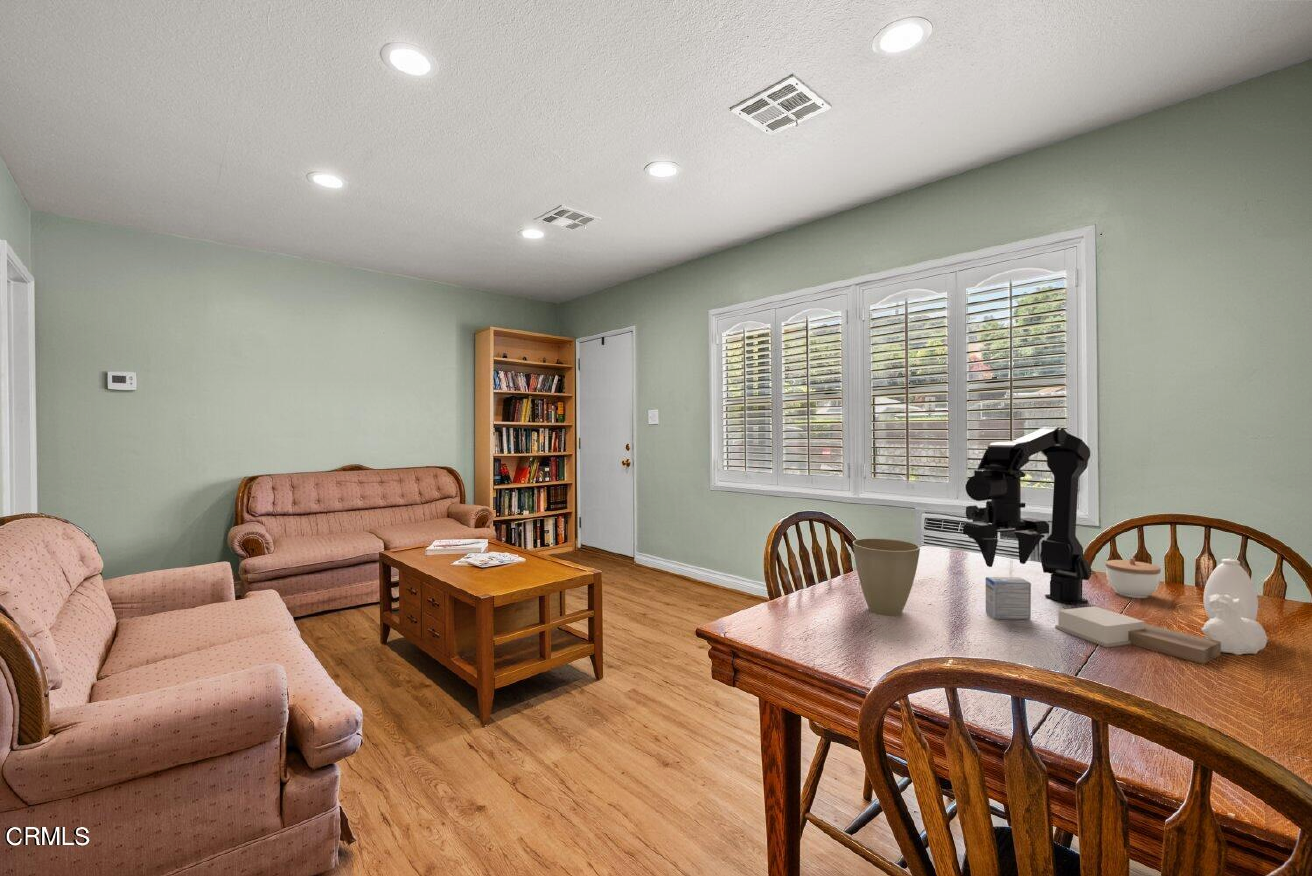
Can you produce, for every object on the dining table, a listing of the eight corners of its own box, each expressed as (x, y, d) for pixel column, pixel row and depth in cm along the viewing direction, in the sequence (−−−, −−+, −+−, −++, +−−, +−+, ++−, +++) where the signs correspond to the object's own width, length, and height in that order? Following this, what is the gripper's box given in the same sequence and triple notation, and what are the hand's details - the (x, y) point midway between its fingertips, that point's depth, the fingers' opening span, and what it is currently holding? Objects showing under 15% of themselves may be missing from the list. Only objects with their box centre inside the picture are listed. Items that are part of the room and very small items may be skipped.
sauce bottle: (1241, 641, 112) (1241, 552, 111) (1194, 628, 119) (1195, 544, 119) (1267, 637, 114) (1268, 549, 114) (1219, 624, 121) (1220, 542, 121)
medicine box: (1020, 613, 129) (1020, 577, 129) (1031, 620, 125) (1031, 582, 125) (984, 613, 130) (984, 576, 130) (994, 619, 126) (994, 581, 126)
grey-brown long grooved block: (1141, 634, 116) (1141, 622, 116) (1220, 655, 105) (1220, 642, 105) (1123, 642, 112) (1123, 629, 112) (1203, 664, 102) (1203, 650, 102)
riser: (1094, 623, 123) (1094, 605, 123) (1148, 641, 112) (1148, 622, 112) (1055, 628, 120) (1055, 609, 120) (1106, 647, 110) (1106, 627, 110)
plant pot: (911, 626, 122) (911, 554, 122) (844, 613, 131) (844, 545, 131) (926, 608, 134) (926, 542, 134) (863, 597, 143) (863, 535, 143)
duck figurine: (1256, 658, 109) (1218, 602, 116) (1295, 646, 103) (1252, 588, 110) (1202, 661, 108) (1166, 604, 115) (1238, 650, 102) (1198, 590, 109)
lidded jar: (1096, 592, 145) (1096, 556, 145) (1119, 586, 150) (1119, 552, 150) (1146, 603, 136) (1146, 565, 135) (1169, 597, 140) (1169, 560, 140)
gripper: (1009, 491, 137) (1009, 554, 138) (945, 495, 133) (945, 560, 133) (1051, 497, 127) (1051, 565, 127) (982, 501, 122) (982, 571, 123)
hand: (1006, 565), depth 128 cm, fingers open, 9 cm apart
